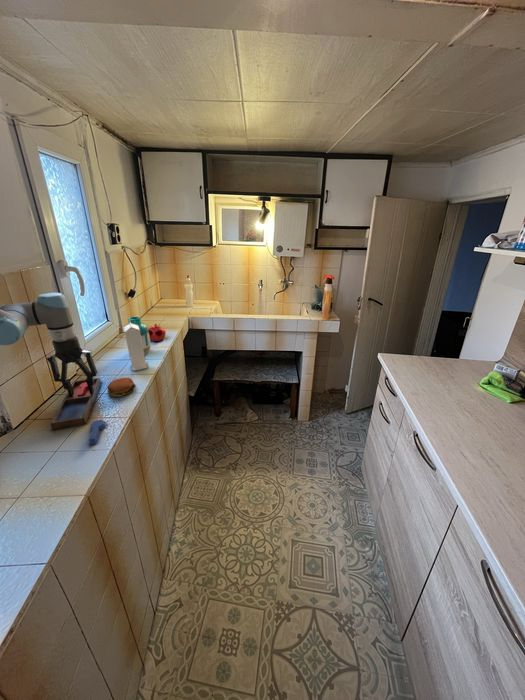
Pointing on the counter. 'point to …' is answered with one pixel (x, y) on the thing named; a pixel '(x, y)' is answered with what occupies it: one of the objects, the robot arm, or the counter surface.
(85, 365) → the robot arm
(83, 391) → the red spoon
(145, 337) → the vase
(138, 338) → the milk
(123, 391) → the burger
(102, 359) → the counter surface
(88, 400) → the tray
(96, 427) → the blue spoon
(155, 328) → the pomegranate
